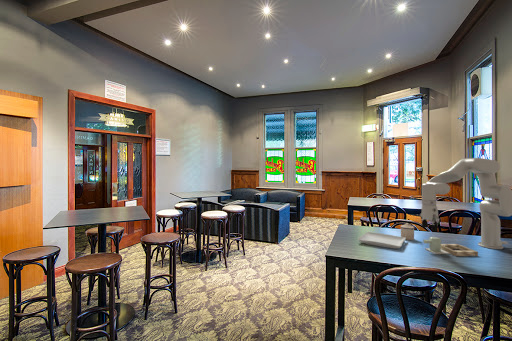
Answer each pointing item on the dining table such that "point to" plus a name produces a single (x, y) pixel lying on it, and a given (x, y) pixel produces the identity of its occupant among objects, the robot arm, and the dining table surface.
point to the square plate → (382, 240)
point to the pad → (438, 252)
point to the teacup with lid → (407, 231)
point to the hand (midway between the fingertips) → (429, 229)
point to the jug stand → (461, 252)
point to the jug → (434, 244)
